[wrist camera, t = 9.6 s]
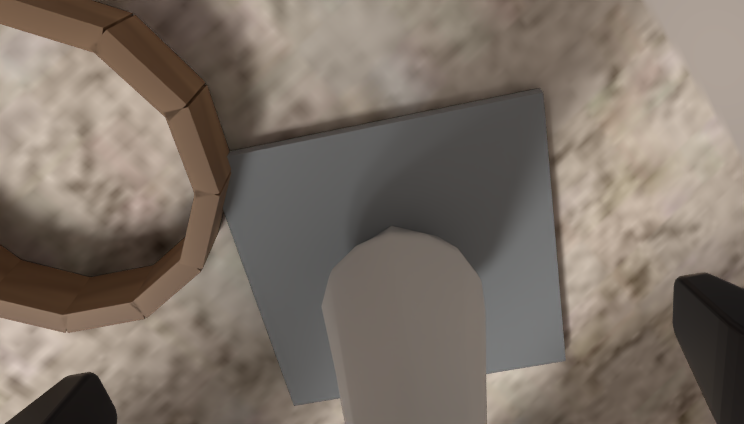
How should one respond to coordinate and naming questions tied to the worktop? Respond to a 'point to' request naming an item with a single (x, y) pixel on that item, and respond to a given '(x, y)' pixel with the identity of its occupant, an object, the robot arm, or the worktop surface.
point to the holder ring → (193, 140)
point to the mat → (403, 223)
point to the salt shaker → (407, 332)
